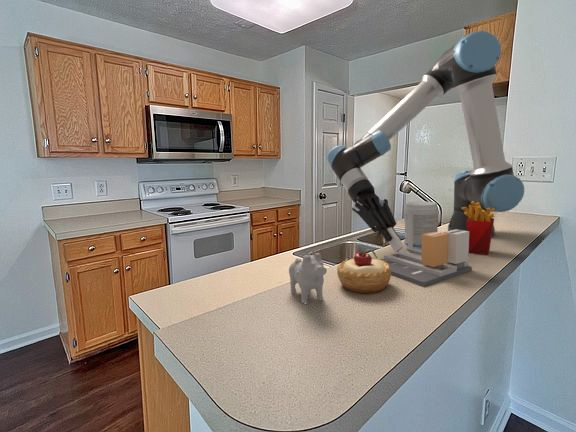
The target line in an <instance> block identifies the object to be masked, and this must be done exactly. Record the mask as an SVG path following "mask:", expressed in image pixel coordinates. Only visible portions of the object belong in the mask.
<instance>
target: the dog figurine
mask: <svg viewBox="0 0 576 432" xmlns="http://www.w3.org/2000/svg"><path fill="white" fill-rule="evenodd" d="M327 271H328V269H327V268H326V267H324V262H323V260H322V255H321V253H320V252H316V253H314V254H311V255H307V254H306V255H303V257H302V258H299V257H298V258H297V257H296V259H295V260H294V262H292V263H291V264H290V265H289V267H288V274H289V278H290V280H289V281H290V293H291V292H296V291H297V289H296V285H297V284H298V286H299V289H300V292H301V294H300V297H301V299H300V301H301V302H302V303H304V304H303V305H307V304H309V303H308V299H309V294H310V293H309V292H310V291H311V290H315V292H316V300H317V299H318V301H320V300H322V301H324V300H323V299H324V296H323V294H324V293H323V285H324V278H325V277H324V275H326V274H327ZM296 293H297V292H296ZM301 302H300V303H301ZM302 303H301V304H302ZM305 303H306V304H305Z"/></svg>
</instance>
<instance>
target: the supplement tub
mask: <svg viewBox="0 0 576 432" xmlns="http://www.w3.org/2000/svg"><path fill="white" fill-rule="evenodd" d="M438 215H439V213H438V203H437V202H434V201H409V202H408V201H407V202H406V203H405V205H404V247H405V249H407V250H408V251H410V252H412V250H414V249H418V250H422V234H427V233H431V232H439V231H438V229H439V228H438V226H439V225H438V222H439V221H438V217H439V216H438Z"/></svg>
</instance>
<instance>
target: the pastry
mask: <svg viewBox="0 0 576 432" xmlns="http://www.w3.org/2000/svg"><path fill="white" fill-rule="evenodd" d="M367 252H371V253H372V254H373V255H374V257H372V256H371V255H370V254H369V253H367ZM336 268H337V273H336V275H337V277H338V279H339V282H340V283H341V285H342V286H343V288H345V290H348V291H350V292H353V293H357V294H375V293H379V292H381V291H383V290H384V289H386V287H387V286H388V284H389V283H390V281H391V276H392V275H391V267H390V265H389V264H388V263H386V262H385V261H381V259H380V258H378V256H377V254H376V252H375V251H374V250H373V249H370V248H369V249H366V250H364V251H363V252H362V251H359V252H357V253H355V254H354V256H353V257H351V258H350V259H348V258H345V260H342V262H340V263H339V264H338V266H337V267H336Z"/></svg>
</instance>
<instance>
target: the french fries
mask: <svg viewBox="0 0 576 432" xmlns="http://www.w3.org/2000/svg"><path fill="white" fill-rule="evenodd" d="M471 204H472V205H473V206H472V205H469V209H468V208H467V207H462V210H464V211H465V212H464V214H465V215H467V216H468V217H469V219H468V220H467V231H469V251H468V254H474V255H482V256H483V255H485V256H489V253H490V249H491V242H492V237H493V236H492V230H493V225H494V223H495V218H494V217H495V214H494V212H493V213H492V211H493V210H495V208H492V209H490V208H487V212H486V211H485V210H482V207H481V205H480V203H475V202H474V201H472V202H471ZM474 210H475V215H474ZM479 214H480V218H479Z"/></svg>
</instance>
